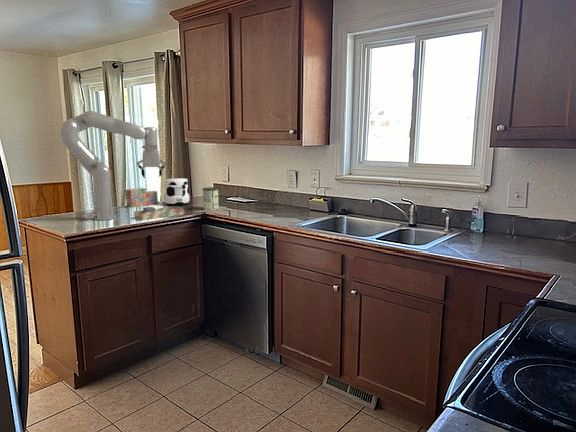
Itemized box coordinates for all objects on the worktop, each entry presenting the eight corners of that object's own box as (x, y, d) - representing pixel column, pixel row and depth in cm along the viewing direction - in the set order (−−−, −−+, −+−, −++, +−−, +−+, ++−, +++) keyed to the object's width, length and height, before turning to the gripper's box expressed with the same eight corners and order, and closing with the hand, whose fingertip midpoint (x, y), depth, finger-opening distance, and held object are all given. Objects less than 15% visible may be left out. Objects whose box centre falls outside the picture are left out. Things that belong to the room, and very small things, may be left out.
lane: (142, 220, 252) (142, 213, 251) (134, 218, 258) (134, 211, 258) (184, 214, 272) (183, 208, 271) (175, 212, 278) (175, 206, 278)
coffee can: (205, 207, 298) (205, 187, 295) (220, 208, 297) (219, 187, 294) (201, 210, 288) (200, 188, 285) (216, 210, 287) (216, 189, 284)
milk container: (176, 202, 323) (175, 177, 319) (194, 203, 315) (193, 178, 312) (159, 205, 307) (158, 179, 304) (178, 207, 300) (177, 180, 296)
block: (147, 215, 256) (147, 208, 256) (143, 214, 260) (142, 207, 259) (155, 214, 260) (154, 207, 259) (150, 213, 263) (150, 206, 263)
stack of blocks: (152, 203, 316) (151, 186, 314) (158, 204, 312) (157, 187, 310) (126, 207, 299) (125, 189, 297) (131, 207, 296) (130, 189, 293)
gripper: (135, 147, 258) (136, 176, 261) (165, 148, 261) (166, 177, 264) (136, 147, 265) (137, 175, 268) (166, 148, 269) (166, 176, 272)
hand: (151, 176), depth 266 cm, fingers open, 9 cm apart
